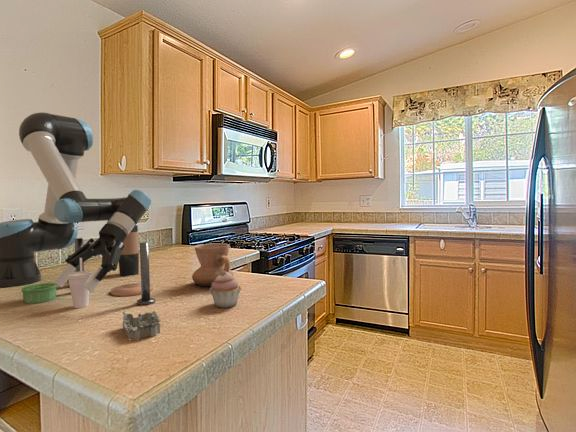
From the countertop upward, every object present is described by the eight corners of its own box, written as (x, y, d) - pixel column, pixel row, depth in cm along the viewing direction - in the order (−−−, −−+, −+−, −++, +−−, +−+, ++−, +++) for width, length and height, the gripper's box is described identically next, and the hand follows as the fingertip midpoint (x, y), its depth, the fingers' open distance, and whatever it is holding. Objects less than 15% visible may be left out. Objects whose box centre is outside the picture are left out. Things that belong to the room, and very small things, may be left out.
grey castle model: (121, 328, 84) (121, 311, 84) (154, 322, 88) (154, 306, 88) (126, 343, 75) (125, 324, 75) (162, 336, 78) (162, 318, 78)
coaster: (102, 293, 114) (101, 290, 113) (134, 284, 125) (134, 281, 125) (130, 298, 108) (129, 294, 108) (161, 288, 120) (161, 285, 120)
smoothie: (98, 303, 102) (96, 257, 102) (79, 310, 96) (77, 260, 96) (82, 301, 104) (80, 256, 104) (62, 308, 98) (60, 259, 98)
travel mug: (142, 272, 146) (141, 225, 145) (133, 276, 138) (131, 226, 137) (125, 272, 147) (124, 225, 146) (115, 276, 139) (113, 226, 138)
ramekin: (54, 294, 113) (53, 281, 113) (60, 300, 107) (60, 286, 107) (19, 300, 107) (19, 286, 107) (24, 306, 101) (23, 291, 101)
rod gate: (68, 292, 115) (66, 239, 114) (83, 289, 119) (81, 237, 118) (145, 306, 100) (143, 244, 99) (158, 301, 104) (156, 242, 103)
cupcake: (206, 302, 103) (205, 269, 102) (237, 298, 106) (236, 266, 106) (212, 311, 94) (211, 275, 94) (245, 307, 98) (245, 272, 97)
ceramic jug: (183, 283, 126) (182, 244, 125) (217, 277, 136) (217, 241, 135) (208, 293, 113) (207, 250, 112) (245, 285, 123) (244, 245, 122)
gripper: (152, 238, 108) (111, 298, 95) (98, 235, 119) (55, 289, 106) (137, 223, 103) (92, 284, 90) (83, 221, 114) (35, 275, 101)
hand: (72, 287), depth 98 cm, fingers open, 13 cm apart
